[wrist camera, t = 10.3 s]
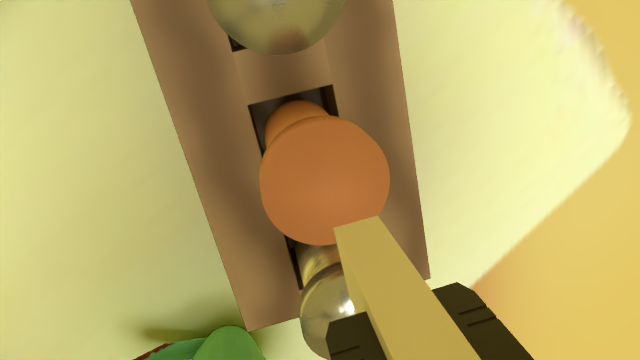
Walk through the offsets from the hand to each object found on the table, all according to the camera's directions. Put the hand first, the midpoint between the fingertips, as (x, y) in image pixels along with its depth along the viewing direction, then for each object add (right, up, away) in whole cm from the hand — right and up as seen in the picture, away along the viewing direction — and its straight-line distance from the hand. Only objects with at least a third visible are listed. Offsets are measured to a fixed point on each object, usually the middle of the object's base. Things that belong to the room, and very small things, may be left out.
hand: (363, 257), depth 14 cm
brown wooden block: (-4, +8, +23) cm, 25 cm away
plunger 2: (-1, -2, +21) cm, 22 cm away
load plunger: (-3, +6, +16) cm, 18 cm away
